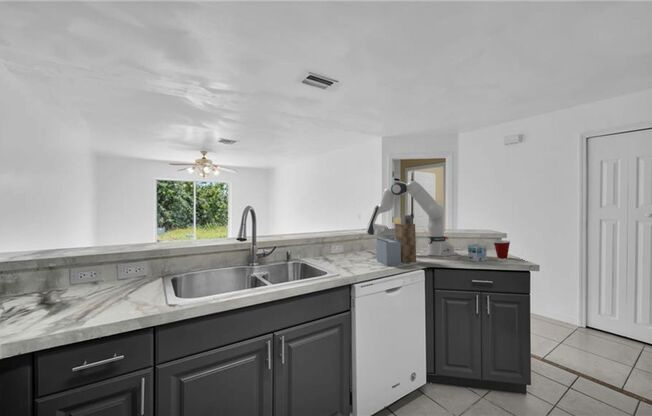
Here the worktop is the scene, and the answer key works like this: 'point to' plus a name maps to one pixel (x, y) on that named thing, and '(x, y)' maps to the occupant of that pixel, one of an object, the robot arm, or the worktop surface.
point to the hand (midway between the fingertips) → (390, 228)
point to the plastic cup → (502, 248)
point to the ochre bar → (403, 219)
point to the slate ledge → (388, 251)
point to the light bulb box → (477, 252)
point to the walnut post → (406, 241)
